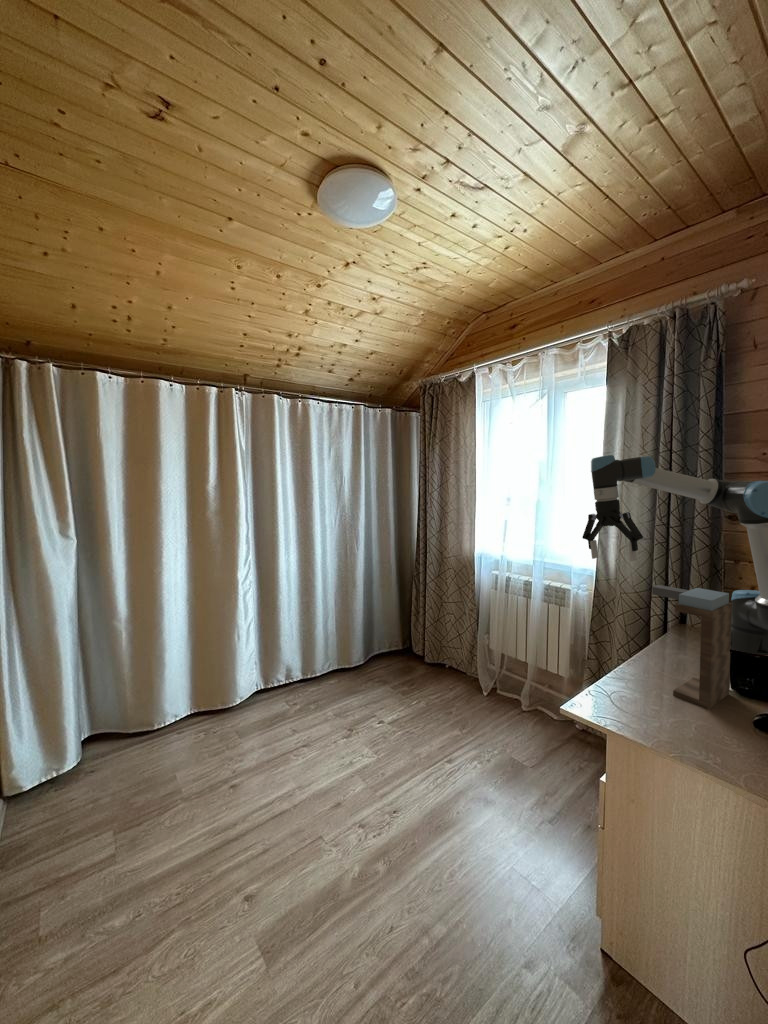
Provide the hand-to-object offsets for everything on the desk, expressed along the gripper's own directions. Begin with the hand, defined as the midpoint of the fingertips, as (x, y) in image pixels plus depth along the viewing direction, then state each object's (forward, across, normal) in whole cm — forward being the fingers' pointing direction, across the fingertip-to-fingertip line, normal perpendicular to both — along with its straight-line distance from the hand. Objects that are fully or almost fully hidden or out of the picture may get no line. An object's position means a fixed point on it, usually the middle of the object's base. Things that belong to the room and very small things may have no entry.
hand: (613, 559), depth 141 cm
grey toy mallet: (+11, +22, -1) cm, 24 cm away
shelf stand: (+39, +24, -3) cm, 46 cm away
